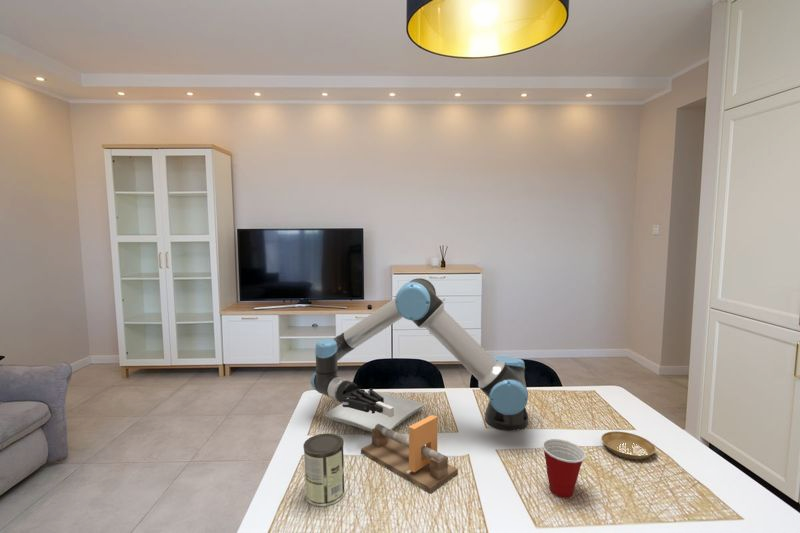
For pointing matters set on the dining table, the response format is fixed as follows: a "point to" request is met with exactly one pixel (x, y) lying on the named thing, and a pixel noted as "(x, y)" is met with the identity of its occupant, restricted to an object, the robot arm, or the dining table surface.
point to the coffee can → (324, 469)
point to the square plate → (376, 413)
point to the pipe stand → (395, 457)
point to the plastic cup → (562, 465)
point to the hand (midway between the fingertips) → (392, 412)
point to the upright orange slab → (422, 441)
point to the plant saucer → (627, 444)
